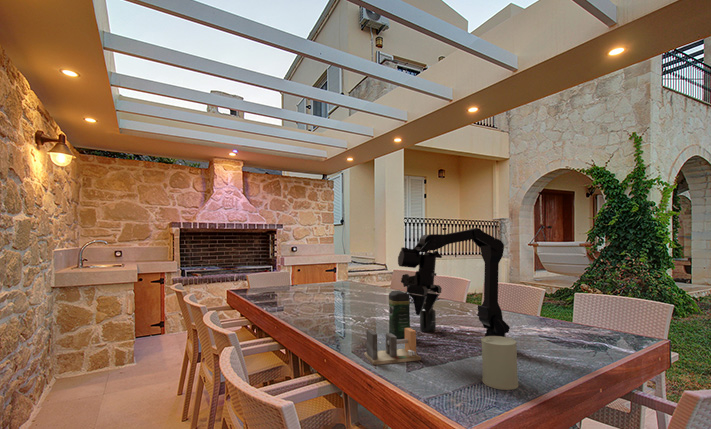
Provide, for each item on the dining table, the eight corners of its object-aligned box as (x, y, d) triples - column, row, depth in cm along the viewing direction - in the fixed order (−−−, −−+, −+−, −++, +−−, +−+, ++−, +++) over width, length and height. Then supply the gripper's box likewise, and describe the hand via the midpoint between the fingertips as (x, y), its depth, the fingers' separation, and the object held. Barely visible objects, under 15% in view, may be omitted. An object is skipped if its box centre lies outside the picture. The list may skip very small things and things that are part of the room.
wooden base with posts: (408, 351, 126) (408, 325, 126) (420, 360, 116) (420, 332, 117) (364, 355, 121) (364, 328, 122) (373, 364, 112) (372, 335, 112)
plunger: (410, 349, 123) (409, 327, 124) (419, 356, 116) (419, 332, 116) (385, 351, 121) (385, 329, 121) (393, 358, 114) (393, 334, 114)
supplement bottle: (436, 333, 150) (435, 304, 151) (419, 332, 152) (419, 304, 153) (435, 329, 157) (435, 301, 158) (420, 328, 158) (419, 301, 159)
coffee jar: (413, 339, 141) (412, 292, 143) (394, 340, 139) (393, 292, 141) (404, 333, 151) (403, 289, 152) (386, 334, 149) (386, 289, 150)
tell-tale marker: (410, 354, 117) (409, 349, 117) (412, 355, 115) (412, 351, 115) (407, 354, 117) (407, 350, 117) (410, 356, 115) (409, 351, 115)
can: (476, 377, 101) (475, 334, 102) (507, 376, 102) (505, 333, 103) (491, 390, 92) (490, 343, 93) (525, 389, 93) (523, 342, 93)
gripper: (415, 267, 138) (412, 307, 136) (394, 266, 122) (390, 311, 121) (443, 270, 132) (439, 313, 130) (425, 270, 116) (421, 318, 115)
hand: (422, 313), depth 124 cm, fingers open, 9 cm apart
